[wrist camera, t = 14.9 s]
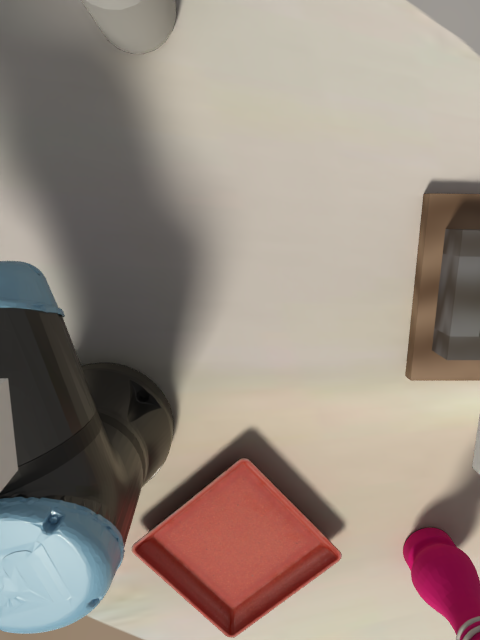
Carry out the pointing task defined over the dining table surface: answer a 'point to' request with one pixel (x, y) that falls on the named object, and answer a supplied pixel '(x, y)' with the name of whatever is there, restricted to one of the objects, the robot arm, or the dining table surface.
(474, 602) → the pepper mill
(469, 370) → the charging dock
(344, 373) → the dining table surface
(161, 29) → the can
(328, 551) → the plant saucer
